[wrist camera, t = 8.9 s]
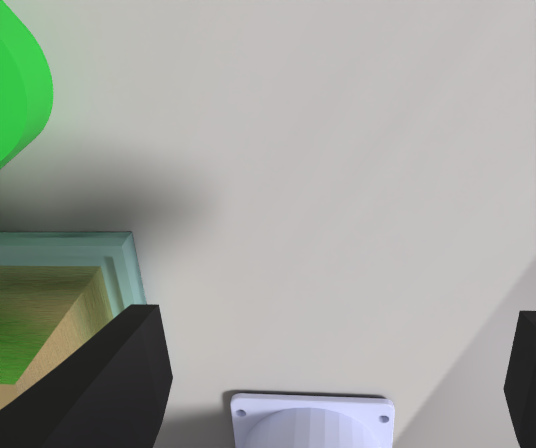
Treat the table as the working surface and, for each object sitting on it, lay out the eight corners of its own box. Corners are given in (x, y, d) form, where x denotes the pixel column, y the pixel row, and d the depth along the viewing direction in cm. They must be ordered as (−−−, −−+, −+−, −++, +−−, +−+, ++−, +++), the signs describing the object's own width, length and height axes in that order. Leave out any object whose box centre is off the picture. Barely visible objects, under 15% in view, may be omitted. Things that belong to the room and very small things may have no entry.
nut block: (122, 354, 25) (52, 490, 19) (25, 351, 25) (-75, 482, 19) (100, 266, 22) (12, 388, 16) (-6, 265, 23) (-131, 382, 17)
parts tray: (160, 371, 26) (153, 389, 25) (11, 367, 27) (-2, 384, 26) (131, 232, 22) (121, 245, 21) (-40, 232, 23) (-58, 245, 22)
